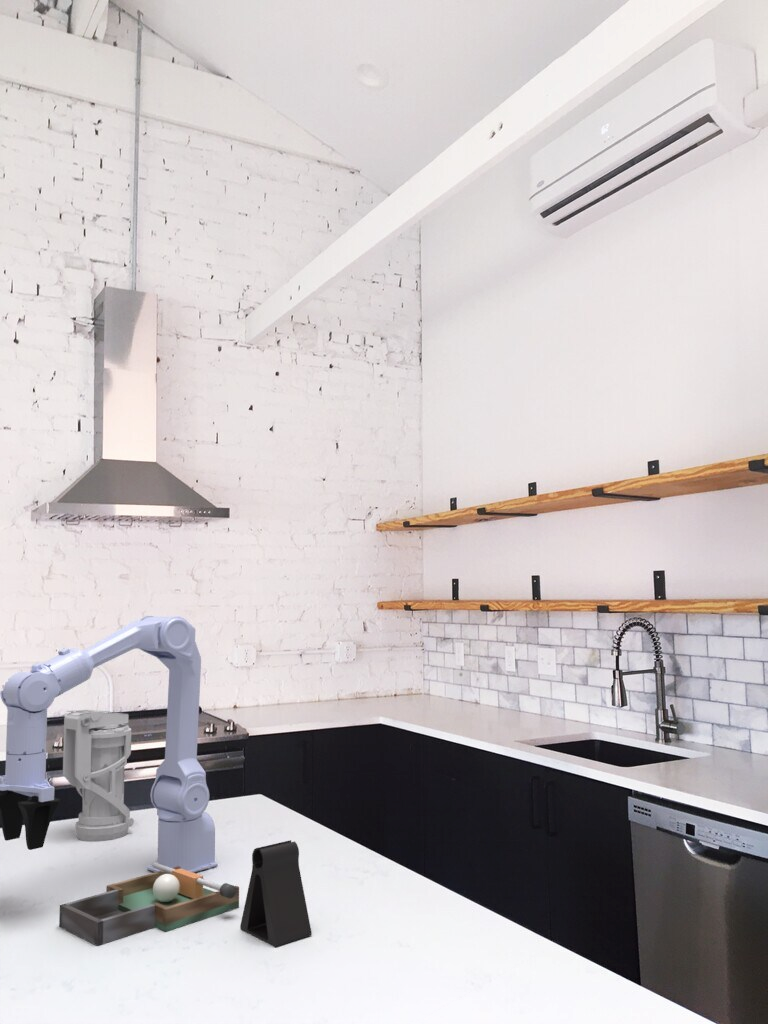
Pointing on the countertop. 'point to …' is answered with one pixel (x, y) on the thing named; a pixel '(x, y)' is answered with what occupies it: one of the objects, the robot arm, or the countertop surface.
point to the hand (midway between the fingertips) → (23, 843)
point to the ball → (166, 888)
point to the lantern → (98, 771)
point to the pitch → (137, 910)
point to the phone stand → (276, 896)
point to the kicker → (195, 883)
